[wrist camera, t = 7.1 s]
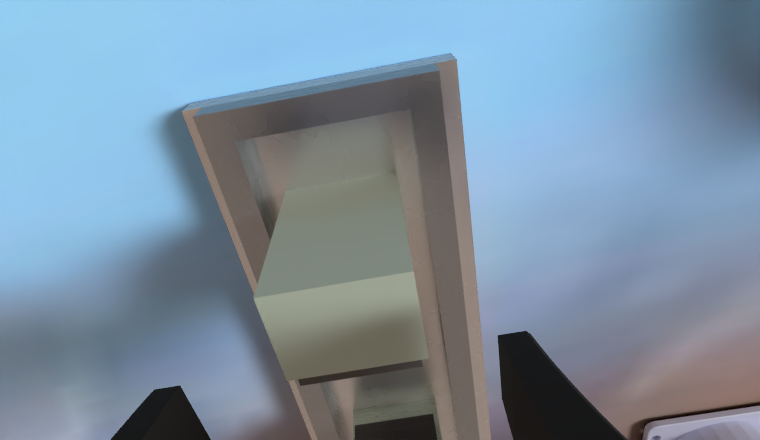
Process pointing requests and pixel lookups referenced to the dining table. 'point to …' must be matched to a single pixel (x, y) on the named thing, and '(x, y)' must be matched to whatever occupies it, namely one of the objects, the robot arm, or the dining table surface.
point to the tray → (421, 214)
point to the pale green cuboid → (341, 283)
